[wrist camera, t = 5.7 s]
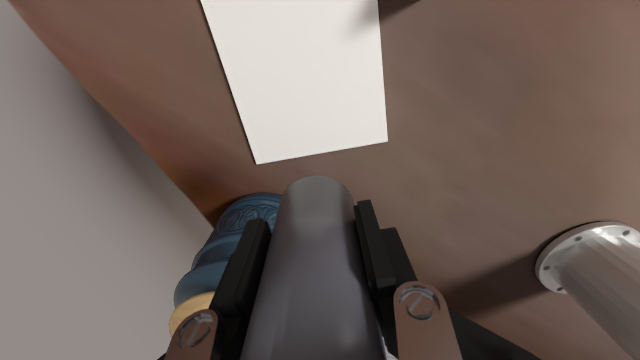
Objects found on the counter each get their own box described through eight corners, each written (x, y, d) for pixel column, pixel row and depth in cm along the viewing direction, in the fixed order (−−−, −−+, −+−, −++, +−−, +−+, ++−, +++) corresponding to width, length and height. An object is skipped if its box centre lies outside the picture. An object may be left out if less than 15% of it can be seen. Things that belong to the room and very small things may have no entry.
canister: (249, 170, 30) (164, 305, 14) (336, 222, 33) (346, 378, 17) (205, 239, 35) (108, 394, 19) (285, 278, 38) (257, 437, 22)
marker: (349, 167, 12) (491, 745, 2) (360, 232, 14) (460, 697, 4) (268, 181, 12) (59, 728, 2) (289, 243, 14) (218, 692, 4)
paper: (368, -114, 19) (369, -118, 18) (386, 140, 28) (387, 141, 27) (181, -61, 20) (179, -63, 20) (257, 162, 29) (256, 164, 29)
